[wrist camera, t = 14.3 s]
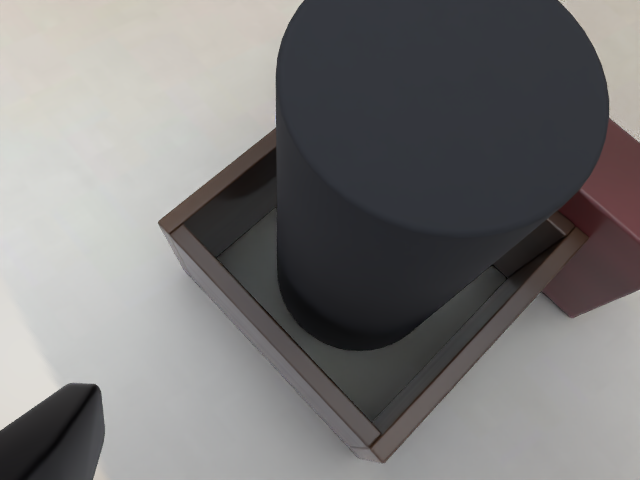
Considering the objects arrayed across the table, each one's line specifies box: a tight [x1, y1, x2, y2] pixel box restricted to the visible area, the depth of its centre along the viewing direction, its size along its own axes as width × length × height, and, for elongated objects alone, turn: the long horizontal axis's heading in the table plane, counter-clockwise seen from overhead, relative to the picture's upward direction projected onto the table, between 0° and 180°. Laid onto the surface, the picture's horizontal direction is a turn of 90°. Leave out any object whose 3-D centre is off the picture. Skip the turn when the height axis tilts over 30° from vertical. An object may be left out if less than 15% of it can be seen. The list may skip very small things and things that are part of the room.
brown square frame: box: [158, 118, 640, 463], centre depth 14 cm, size 9×10×4 cm
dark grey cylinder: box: [276, 0, 609, 351], centre depth 12 cm, size 4×4×9 cm
